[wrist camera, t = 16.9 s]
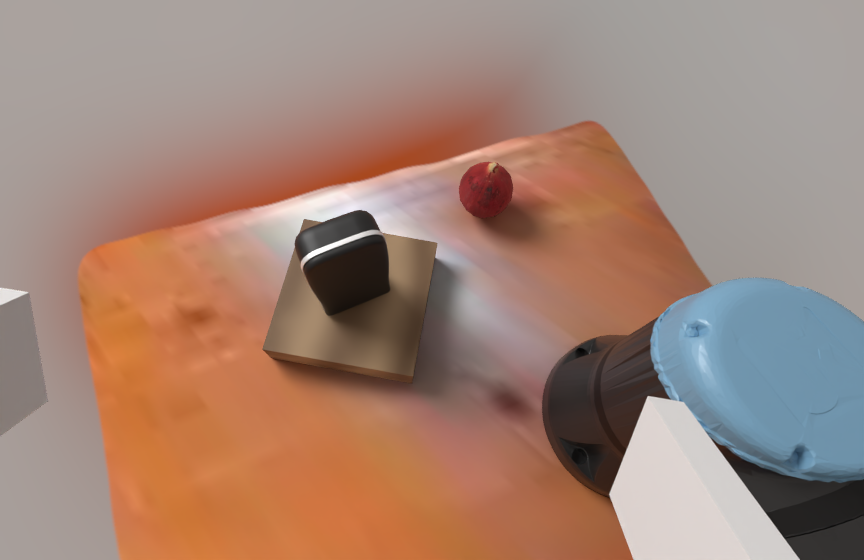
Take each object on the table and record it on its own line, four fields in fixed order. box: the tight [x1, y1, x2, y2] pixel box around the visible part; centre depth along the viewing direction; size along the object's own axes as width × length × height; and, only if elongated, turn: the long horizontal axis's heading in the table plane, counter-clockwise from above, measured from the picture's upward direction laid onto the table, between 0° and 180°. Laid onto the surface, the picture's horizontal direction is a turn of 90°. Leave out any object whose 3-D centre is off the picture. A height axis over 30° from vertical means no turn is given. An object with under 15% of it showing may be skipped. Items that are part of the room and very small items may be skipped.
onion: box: [459, 162, 513, 218], centre depth 51 cm, size 6×6×8 cm
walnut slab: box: [263, 219, 437, 383], centre depth 47 cm, size 14×14×4 cm
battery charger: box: [295, 210, 390, 316], centre depth 40 cm, size 7×4×11 cm, turn 115°
